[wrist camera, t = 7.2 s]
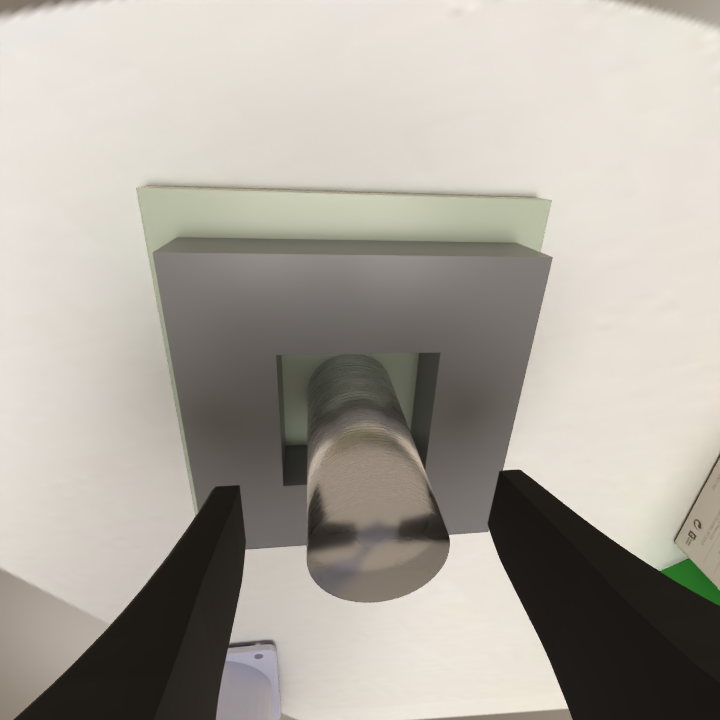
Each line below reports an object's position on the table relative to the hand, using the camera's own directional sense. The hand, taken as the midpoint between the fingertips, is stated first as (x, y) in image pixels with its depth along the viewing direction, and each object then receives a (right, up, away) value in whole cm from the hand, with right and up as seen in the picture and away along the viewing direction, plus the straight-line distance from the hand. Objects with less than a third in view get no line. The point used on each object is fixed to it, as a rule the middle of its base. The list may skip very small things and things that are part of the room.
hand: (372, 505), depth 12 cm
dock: (-1, +3, +7) cm, 7 cm away
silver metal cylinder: (-1, +3, +6) cm, 6 cm away
